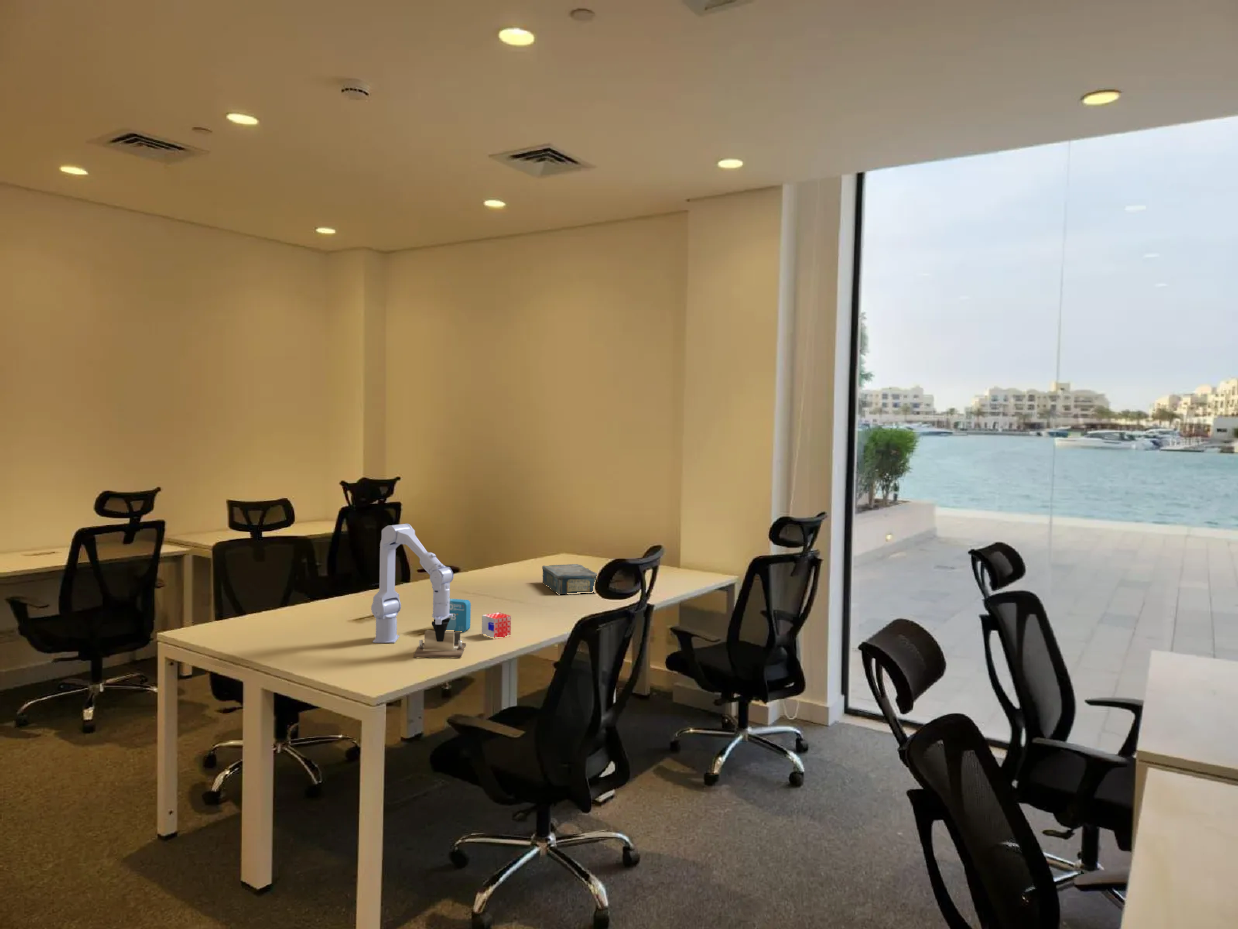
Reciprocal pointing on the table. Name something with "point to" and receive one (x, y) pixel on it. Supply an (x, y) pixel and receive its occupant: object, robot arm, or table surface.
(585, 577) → the metal box
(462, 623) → the data package
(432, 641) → the beige wooden block
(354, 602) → the table surface
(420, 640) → the hinge pins
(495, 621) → the puzzle cube
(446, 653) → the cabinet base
